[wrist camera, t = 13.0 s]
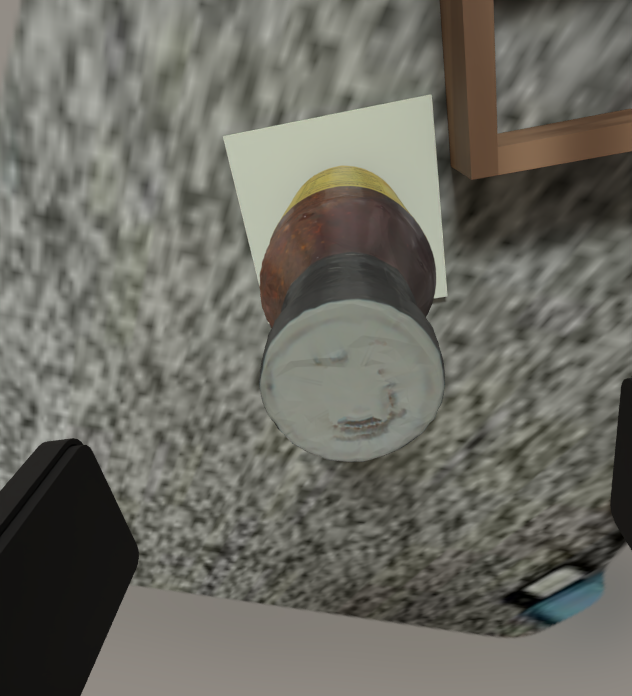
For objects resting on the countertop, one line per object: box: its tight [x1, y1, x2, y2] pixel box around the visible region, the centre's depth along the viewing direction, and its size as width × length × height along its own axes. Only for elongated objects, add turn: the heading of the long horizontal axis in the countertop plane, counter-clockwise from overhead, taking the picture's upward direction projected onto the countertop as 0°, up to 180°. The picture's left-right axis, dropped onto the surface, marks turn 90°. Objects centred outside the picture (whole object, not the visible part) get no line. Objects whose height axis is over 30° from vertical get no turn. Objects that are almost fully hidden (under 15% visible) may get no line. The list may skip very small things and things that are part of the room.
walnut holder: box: [440, 0, 632, 180], centre depth 22 cm, size 11×12×5 cm
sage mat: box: [223, 95, 447, 323], centre depth 29 cm, size 11×11×1 cm
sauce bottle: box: [259, 165, 445, 462], centre depth 20 cm, size 7×6×20 cm
